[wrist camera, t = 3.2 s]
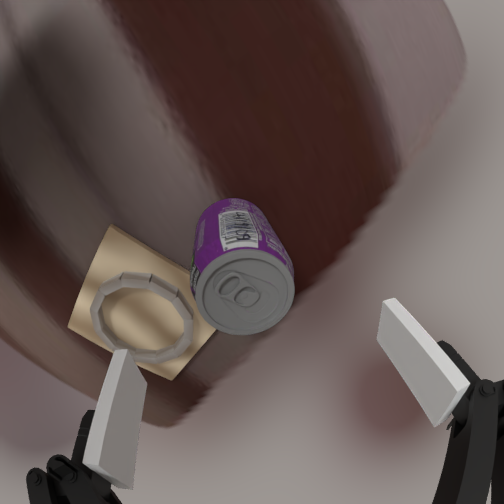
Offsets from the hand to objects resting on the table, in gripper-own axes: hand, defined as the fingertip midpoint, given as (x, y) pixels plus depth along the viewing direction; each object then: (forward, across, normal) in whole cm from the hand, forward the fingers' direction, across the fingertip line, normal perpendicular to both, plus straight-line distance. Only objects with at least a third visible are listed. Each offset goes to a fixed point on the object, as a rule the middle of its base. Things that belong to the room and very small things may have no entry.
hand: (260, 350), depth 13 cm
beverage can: (+17, 0, 0) cm, 17 cm away
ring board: (+16, -12, -8) cm, 22 cm away
